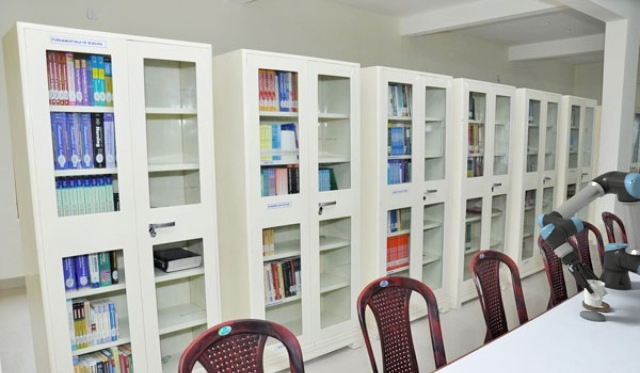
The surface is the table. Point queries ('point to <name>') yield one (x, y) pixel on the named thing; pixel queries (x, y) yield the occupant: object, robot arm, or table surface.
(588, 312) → the coaster
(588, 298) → the white cup
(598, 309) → the collar
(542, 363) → the table surface
